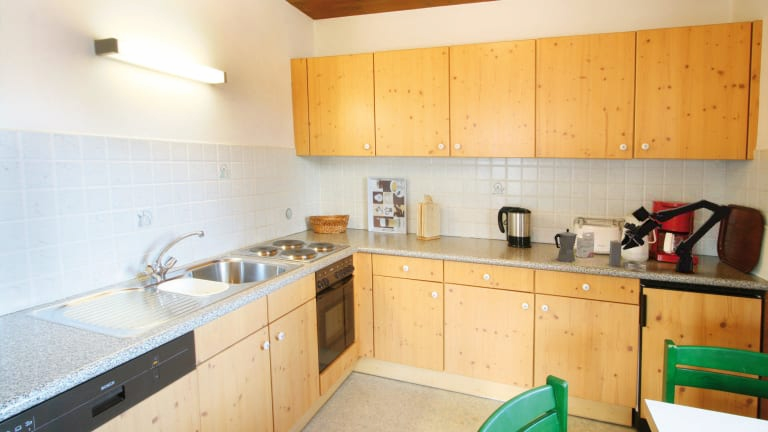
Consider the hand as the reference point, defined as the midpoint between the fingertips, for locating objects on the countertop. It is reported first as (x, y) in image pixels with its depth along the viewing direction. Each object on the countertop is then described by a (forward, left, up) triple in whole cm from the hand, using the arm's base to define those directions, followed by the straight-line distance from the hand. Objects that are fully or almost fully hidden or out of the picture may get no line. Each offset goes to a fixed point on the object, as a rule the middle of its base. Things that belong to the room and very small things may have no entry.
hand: (621, 247), depth 239 cm
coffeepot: (+26, -10, -10) cm, 29 cm away
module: (+3, 0, -10) cm, 10 cm away
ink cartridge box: (+11, -21, -10) cm, 26 cm away
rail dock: (-4, +7, -10) cm, 13 cm away
